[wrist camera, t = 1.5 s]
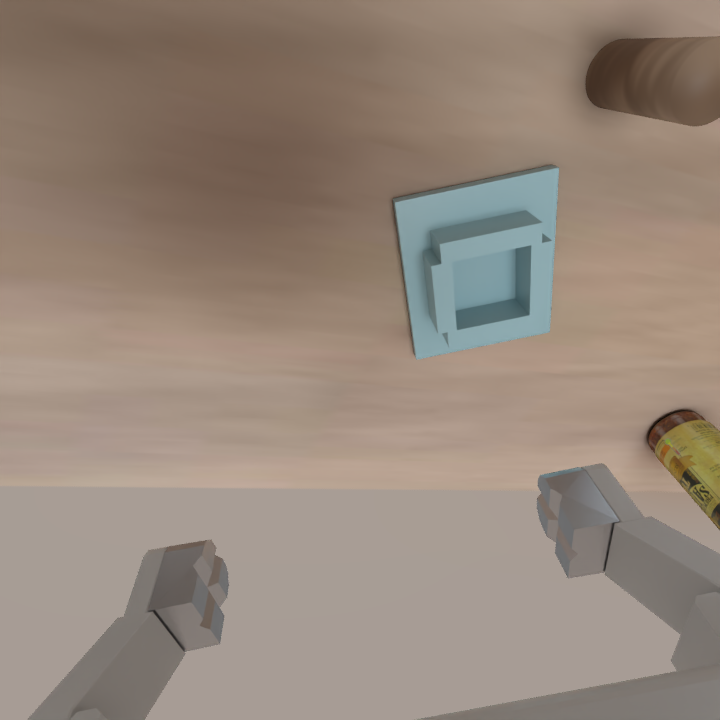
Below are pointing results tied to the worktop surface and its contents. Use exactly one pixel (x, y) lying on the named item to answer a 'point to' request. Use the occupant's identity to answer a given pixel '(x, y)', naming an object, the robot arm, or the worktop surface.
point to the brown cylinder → (659, 78)
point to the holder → (479, 260)
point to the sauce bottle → (691, 457)
